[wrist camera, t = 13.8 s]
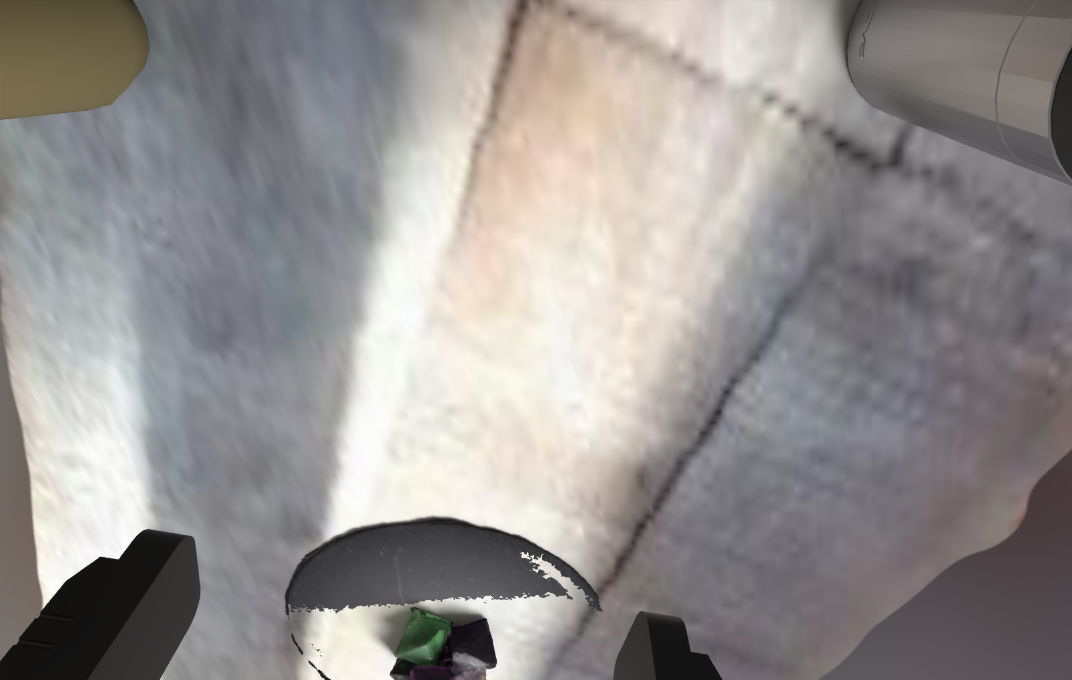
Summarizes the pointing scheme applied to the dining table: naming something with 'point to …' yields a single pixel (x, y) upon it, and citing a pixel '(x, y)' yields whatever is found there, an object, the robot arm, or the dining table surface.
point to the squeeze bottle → (67, 54)
